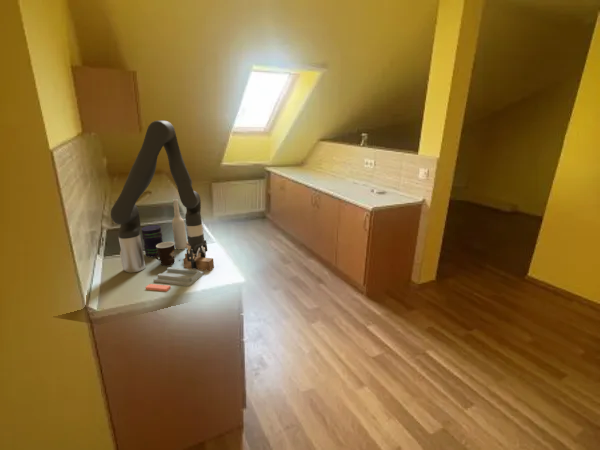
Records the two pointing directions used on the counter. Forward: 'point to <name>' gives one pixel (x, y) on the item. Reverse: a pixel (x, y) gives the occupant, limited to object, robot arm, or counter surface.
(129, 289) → the counter surface
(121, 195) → the robot arm
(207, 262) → the plank with peg
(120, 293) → the counter surface
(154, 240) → the storage jar
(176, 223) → the bottle
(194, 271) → the cradle jig
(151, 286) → the salmon pink bar
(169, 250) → the coffee mug
